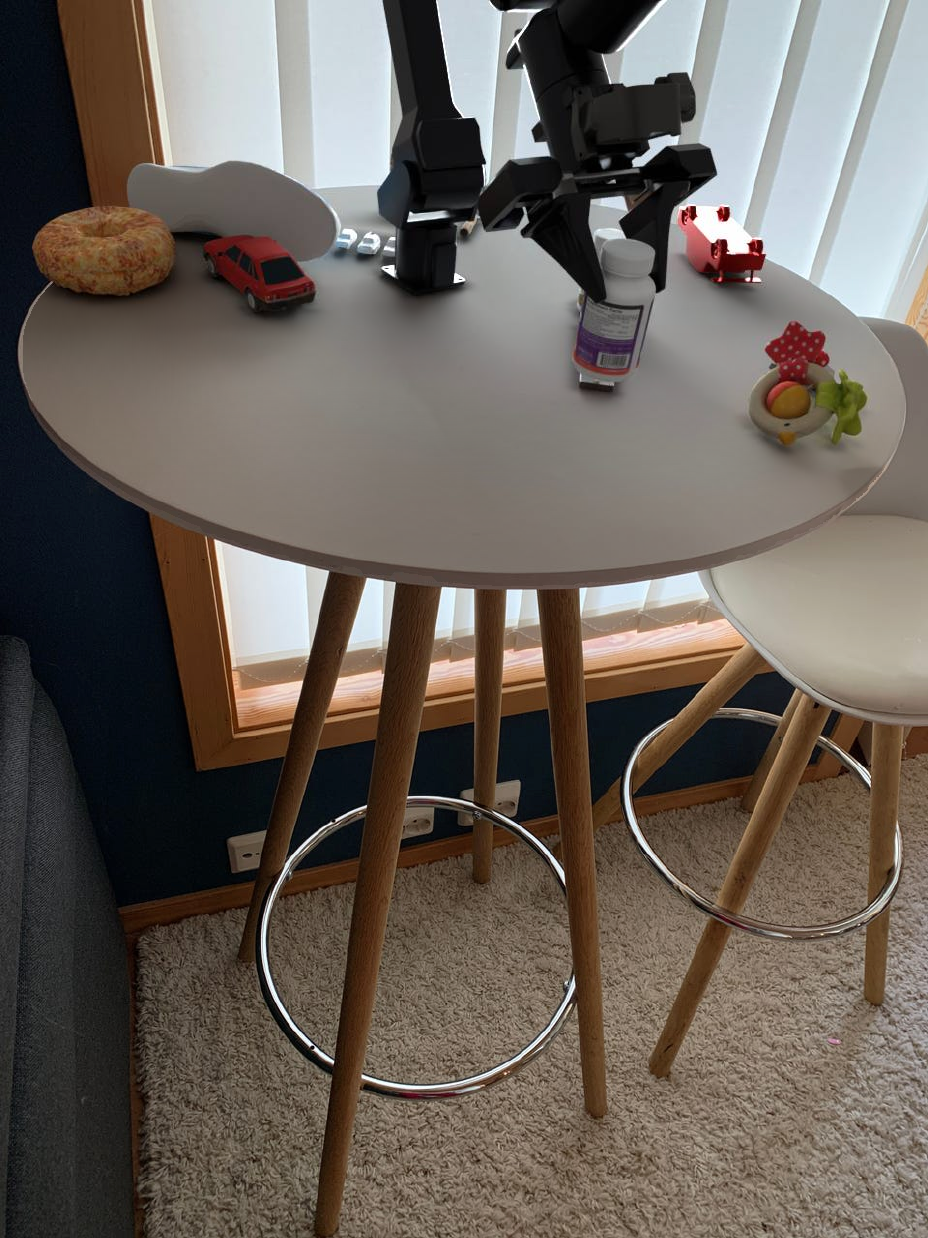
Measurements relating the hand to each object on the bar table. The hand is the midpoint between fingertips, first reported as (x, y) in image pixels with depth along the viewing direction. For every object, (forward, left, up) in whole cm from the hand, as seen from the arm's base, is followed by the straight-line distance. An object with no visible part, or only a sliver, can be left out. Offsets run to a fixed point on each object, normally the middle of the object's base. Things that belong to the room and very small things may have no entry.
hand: (630, 296), depth 71 cm
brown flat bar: (-9, +8, -11) cm, 16 cm away
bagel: (-45, -25, -6) cm, 52 cm away
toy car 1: (-36, -13, -11) cm, 40 cm away
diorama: (+6, +20, -9) cm, 23 cm away
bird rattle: (+7, +11, -10) cm, 16 cm away
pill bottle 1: (-17, +15, -11) cm, 26 cm away
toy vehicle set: (-40, +2, -11) cm, 42 cm away
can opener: (-45, +17, -10) cm, 49 cm away
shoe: (-45, -12, -6) cm, 47 cm away
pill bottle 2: (-1, 0, -7) cm, 7 cm away
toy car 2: (-21, +37, -6) cm, 42 cm away
